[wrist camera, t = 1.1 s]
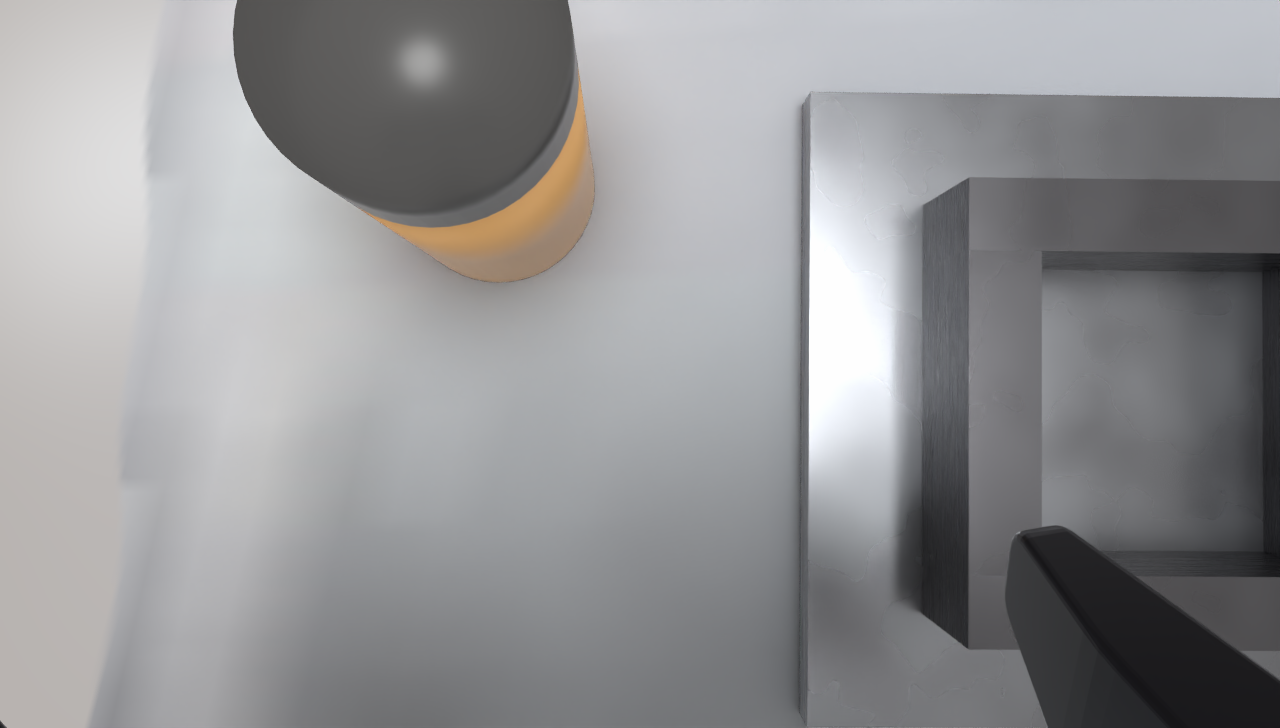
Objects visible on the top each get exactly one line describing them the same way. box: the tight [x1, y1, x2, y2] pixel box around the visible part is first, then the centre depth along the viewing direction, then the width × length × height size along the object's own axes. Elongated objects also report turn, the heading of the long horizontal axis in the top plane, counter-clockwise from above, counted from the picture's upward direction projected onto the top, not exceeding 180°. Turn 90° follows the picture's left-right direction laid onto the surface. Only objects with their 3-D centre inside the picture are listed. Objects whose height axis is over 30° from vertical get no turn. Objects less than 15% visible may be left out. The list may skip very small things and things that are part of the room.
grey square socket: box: [799, 92, 1280, 728], centre depth 21 cm, size 14×14×4 cm
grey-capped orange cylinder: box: [233, 0, 595, 282], centre depth 18 cm, size 4×4×10 cm
